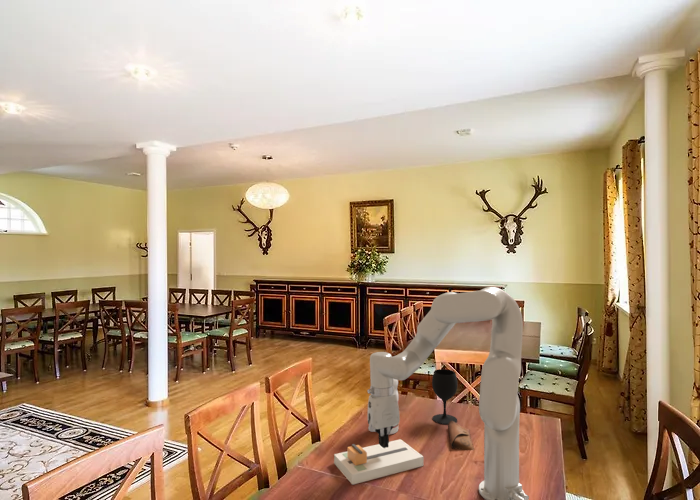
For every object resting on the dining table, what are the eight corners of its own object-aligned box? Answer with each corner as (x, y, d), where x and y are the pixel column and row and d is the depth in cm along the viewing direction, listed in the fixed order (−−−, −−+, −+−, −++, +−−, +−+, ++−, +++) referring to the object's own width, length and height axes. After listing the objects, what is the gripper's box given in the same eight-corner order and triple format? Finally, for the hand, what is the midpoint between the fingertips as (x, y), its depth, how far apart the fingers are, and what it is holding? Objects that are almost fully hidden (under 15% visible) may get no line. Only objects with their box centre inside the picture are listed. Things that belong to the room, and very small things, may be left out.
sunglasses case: (476, 450, 146) (466, 433, 146) (458, 459, 147) (448, 442, 147) (469, 429, 164) (460, 414, 164) (453, 437, 165) (445, 422, 165)
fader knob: (358, 454, 137) (358, 442, 137) (366, 462, 131) (366, 450, 131) (347, 456, 135) (347, 445, 135) (355, 465, 130) (355, 453, 130)
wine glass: (430, 423, 170) (430, 374, 170) (433, 413, 180) (433, 367, 180) (457, 426, 167) (456, 376, 167) (458, 416, 177) (457, 369, 177)
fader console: (400, 447, 148) (400, 438, 148) (423, 465, 136) (423, 456, 136) (334, 463, 137) (334, 454, 137) (352, 484, 125) (352, 474, 125)
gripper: (367, 397, 130) (369, 456, 130) (407, 389, 137) (409, 445, 136) (357, 391, 137) (358, 446, 137) (395, 383, 144) (397, 437, 143)
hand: (384, 446), depth 137 cm, fingers closed
